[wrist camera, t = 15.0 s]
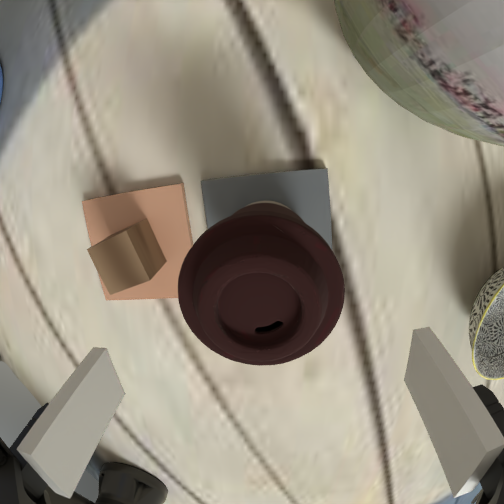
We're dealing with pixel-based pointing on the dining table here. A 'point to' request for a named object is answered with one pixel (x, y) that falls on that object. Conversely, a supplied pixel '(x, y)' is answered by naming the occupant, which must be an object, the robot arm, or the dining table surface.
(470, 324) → the bowl
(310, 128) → the dining table surface
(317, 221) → the slate tile
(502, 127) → the vase
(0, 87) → the water jug
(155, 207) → the terracotta tile
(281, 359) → the coffee cup
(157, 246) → the walnut block
